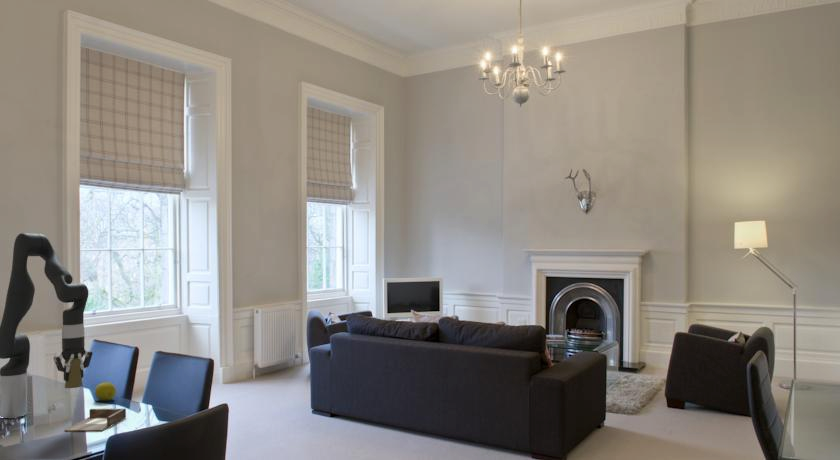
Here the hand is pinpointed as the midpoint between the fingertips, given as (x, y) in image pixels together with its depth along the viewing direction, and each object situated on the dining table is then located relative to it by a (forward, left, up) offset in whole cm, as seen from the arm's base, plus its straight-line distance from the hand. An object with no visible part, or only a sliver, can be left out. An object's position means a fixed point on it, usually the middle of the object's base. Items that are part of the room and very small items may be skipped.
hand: (73, 380), depth 236 cm
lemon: (-8, +38, -18) cm, 42 cm away
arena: (+7, +3, -18) cm, 19 cm away
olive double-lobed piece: (0, 0, -2) cm, 2 cm away
